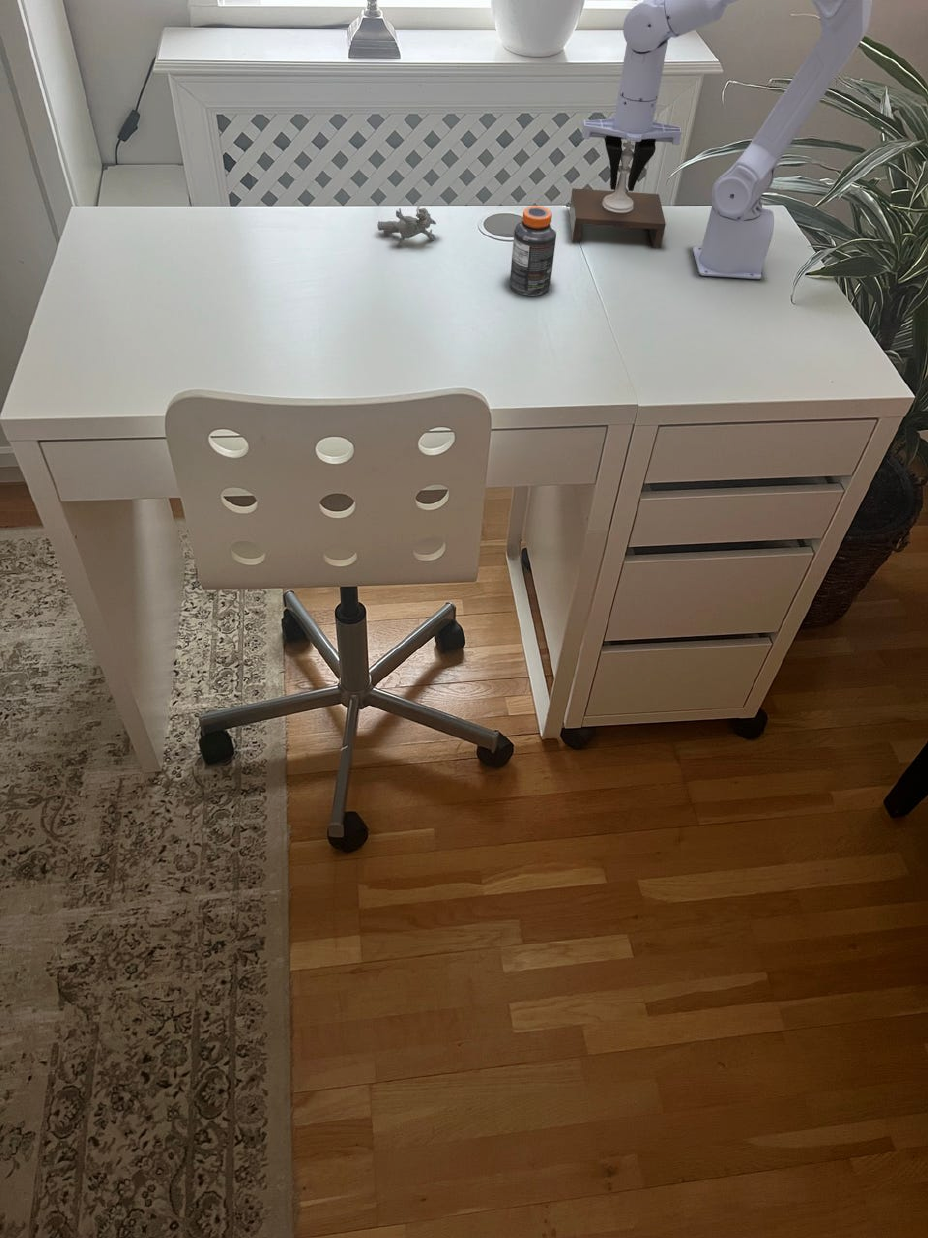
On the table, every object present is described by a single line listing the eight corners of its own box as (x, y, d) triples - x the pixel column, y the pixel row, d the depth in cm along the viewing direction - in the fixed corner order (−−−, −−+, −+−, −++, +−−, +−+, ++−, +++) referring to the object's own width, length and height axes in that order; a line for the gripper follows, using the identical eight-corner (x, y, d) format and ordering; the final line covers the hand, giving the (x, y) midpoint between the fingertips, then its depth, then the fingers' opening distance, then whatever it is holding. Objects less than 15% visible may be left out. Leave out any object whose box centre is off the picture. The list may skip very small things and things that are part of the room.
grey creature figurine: (403, 221, 153) (450, 217, 148) (398, 259, 153) (444, 256, 148) (364, 195, 144) (412, 190, 140) (358, 235, 145) (406, 232, 140)
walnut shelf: (653, 217, 158) (659, 193, 155) (660, 248, 151) (666, 223, 148) (569, 212, 158) (572, 188, 155) (572, 242, 151) (575, 217, 148)
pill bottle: (550, 277, 144) (560, 203, 135) (548, 298, 140) (558, 223, 131) (510, 273, 144) (517, 199, 135) (507, 294, 140) (515, 219, 131)
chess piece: (625, 215, 149) (637, 149, 142) (596, 206, 151) (607, 140, 143) (638, 204, 152) (651, 138, 145) (610, 195, 154) (621, 129, 146)
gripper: (590, 101, 136) (576, 196, 147) (691, 108, 137) (670, 202, 147) (587, 82, 141) (573, 175, 151) (685, 88, 141) (665, 181, 152)
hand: (621, 187), depth 149 cm, fingers closed
